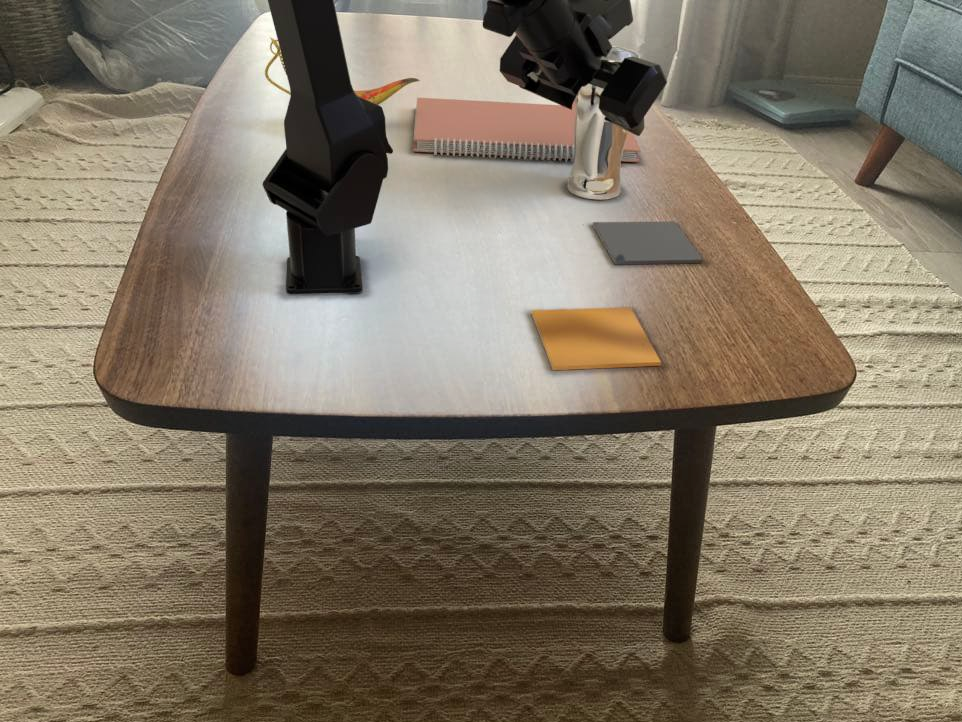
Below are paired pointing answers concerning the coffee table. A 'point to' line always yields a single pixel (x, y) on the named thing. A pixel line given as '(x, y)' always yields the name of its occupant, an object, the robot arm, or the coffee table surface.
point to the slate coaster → (646, 243)
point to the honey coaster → (594, 338)
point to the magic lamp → (370, 95)
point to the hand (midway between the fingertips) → (610, 120)
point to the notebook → (499, 130)
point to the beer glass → (597, 141)
